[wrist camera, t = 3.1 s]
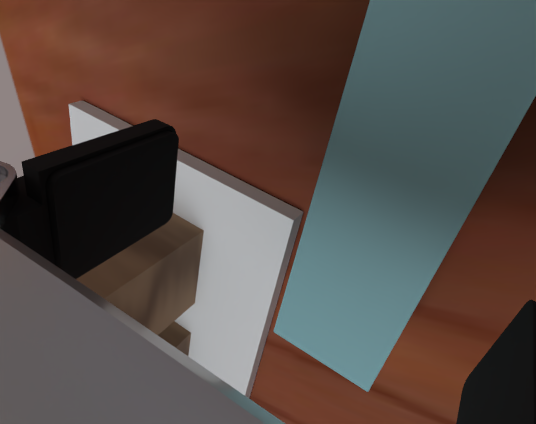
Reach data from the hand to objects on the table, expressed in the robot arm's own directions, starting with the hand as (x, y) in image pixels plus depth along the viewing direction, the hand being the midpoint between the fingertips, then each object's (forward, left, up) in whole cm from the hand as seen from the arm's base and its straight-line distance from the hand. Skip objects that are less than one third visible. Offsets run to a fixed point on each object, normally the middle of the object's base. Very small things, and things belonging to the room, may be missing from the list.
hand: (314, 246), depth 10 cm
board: (+16, -11, -8) cm, 21 cm away
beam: (0, +1, -8) cm, 8 cm away
